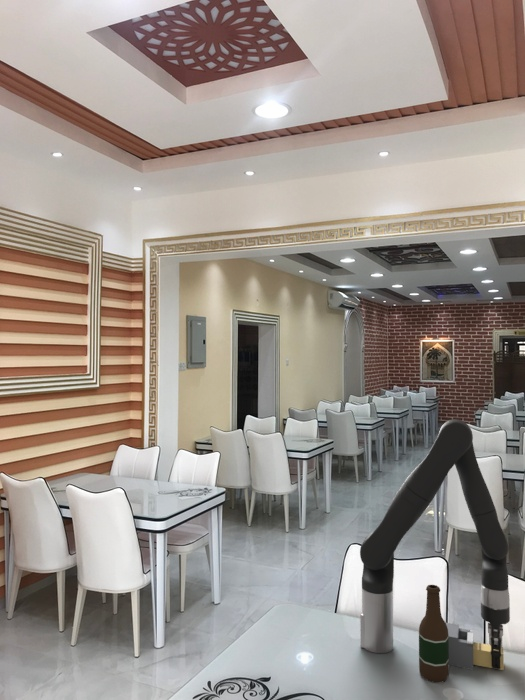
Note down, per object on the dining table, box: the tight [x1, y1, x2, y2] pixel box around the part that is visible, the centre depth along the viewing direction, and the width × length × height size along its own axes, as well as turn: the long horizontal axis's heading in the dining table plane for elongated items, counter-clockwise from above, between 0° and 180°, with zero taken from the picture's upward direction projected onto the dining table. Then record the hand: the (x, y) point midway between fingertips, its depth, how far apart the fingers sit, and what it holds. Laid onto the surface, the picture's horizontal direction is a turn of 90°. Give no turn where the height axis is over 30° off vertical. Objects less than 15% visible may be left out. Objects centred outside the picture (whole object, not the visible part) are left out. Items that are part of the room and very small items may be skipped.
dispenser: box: [445, 621, 475, 670], centre depth 158 cm, size 12×8×8 cm
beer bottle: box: [418, 584, 450, 684], centre depth 150 cm, size 8×8×24 cm
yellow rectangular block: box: [473, 641, 505, 671], centre depth 155 cm, size 9×4×4 cm, turn 68°
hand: (495, 663), depth 154 cm, fingers closed on yellow rectangular block, 4 cm apart
